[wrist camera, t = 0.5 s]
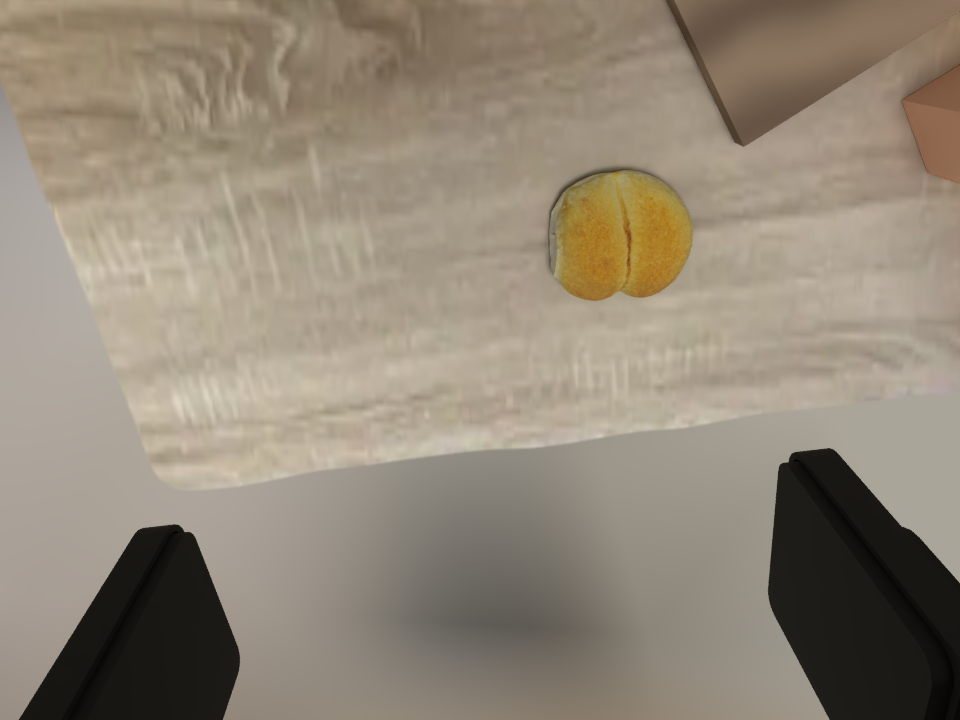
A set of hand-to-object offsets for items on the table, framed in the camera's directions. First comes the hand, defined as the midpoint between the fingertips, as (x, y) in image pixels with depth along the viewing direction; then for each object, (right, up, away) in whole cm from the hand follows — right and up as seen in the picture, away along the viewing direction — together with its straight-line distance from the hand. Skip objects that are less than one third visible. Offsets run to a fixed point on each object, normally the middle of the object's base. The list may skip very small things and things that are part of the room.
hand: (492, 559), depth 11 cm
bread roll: (+8, +11, +34) cm, 37 cm away
